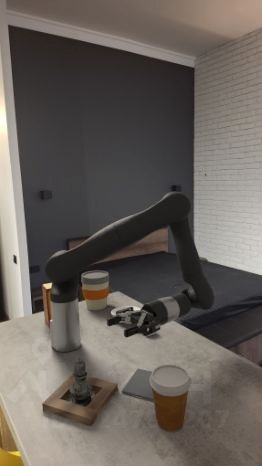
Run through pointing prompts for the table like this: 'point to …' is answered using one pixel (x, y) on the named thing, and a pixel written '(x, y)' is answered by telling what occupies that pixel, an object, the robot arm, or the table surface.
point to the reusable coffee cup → (95, 289)
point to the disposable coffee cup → (170, 395)
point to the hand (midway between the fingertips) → (115, 328)
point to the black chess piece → (80, 385)
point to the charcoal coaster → (139, 385)
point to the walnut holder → (78, 412)
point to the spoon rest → (128, 317)
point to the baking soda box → (47, 302)
